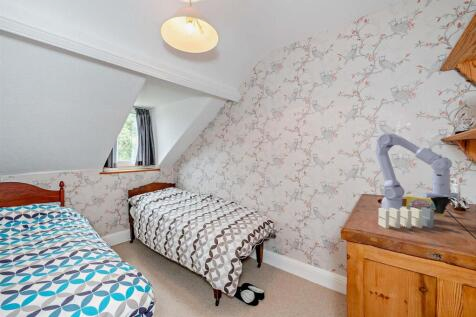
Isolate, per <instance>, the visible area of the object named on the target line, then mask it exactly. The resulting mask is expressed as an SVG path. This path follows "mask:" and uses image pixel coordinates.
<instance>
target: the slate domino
mask: <svg viewBox="0 0 476 317" xmlns="http://www.w3.org/2000/svg"><path fill="white" fill-rule="evenodd" d="M421 210H423V219H422V226H425V227H426V226H427V228H429V229H434V220H435V219H434V217H435V216H434V210H431V209H428V208H425V207H421Z"/></svg>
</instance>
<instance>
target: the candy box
mask: <svg viewBox="0 0 476 317" xmlns="http://www.w3.org/2000/svg"><path fill="white" fill-rule="evenodd" d="M405 207H406V209H408V210H410V208H417V209H420V210H421V207H425V208H428V209H431V210H434V215H435V216H439V217H445V216H446V215H445V211H446V210H445V211H444V213H443V214H440V213H437V212H436V208H435V205H434V203H433V201H432V200H431V198H424V197H420V196H412V195H406V206H405Z"/></svg>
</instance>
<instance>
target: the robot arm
mask: <svg viewBox="0 0 476 317" xmlns="http://www.w3.org/2000/svg"><path fill="white" fill-rule="evenodd" d="M377 137H378V138H377V139H376V146H375V155H376V158H377V161H378V164H379V167H380V172H381V174H382V177H383V180H384V183H383V196H384V197H383V198H382V199H381V207H380V208H384V209H386V210H388V211H389V208H395V209H397V210H400V208H403V198H402V197H403V196H404V195H405V188H404V187H402V185H401V183H400V182H399V181H398V179H397V177H396V175H395V171H394V167H393V165H392V161H391V159H390V154H389V151H390V150H391V148H393V147H394V146H400V147H402V148H404V149H406V150H408V151H410V152H411V153H413V154H415V157H416V158H417V159H419V160H420V161H421V162H424V163H425V164H427V165H429V166H430V167H431V168H432V169H433V171H432V172H433V173H432V191H431V192H423V194H422V198H428V199H431V200H432V201H433V203H434V205H435V208H436V212H437V213H440V214H443V213H444V211H446V208H447V207H448V205H449V204H450V203H451V202H452V199H453V198H456V199H459V193H457V192H450V189H451V187H450V186H451V168H452V166H453V161H452V160H451V159H449V158H448V157H443V155H442V154H438V153H436V152H434V151H433V150H432V149H431V148H430V147H428V148H427V147H422V148H421V147H419V146H417V145H416V144H414V143H412V142H411V141H409V140H408V139H406V138H404V137H403V136H400V135H397V133H387V132H385V133H381V134H380V135H379V136H377ZM451 198H452V199H451Z"/></svg>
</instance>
